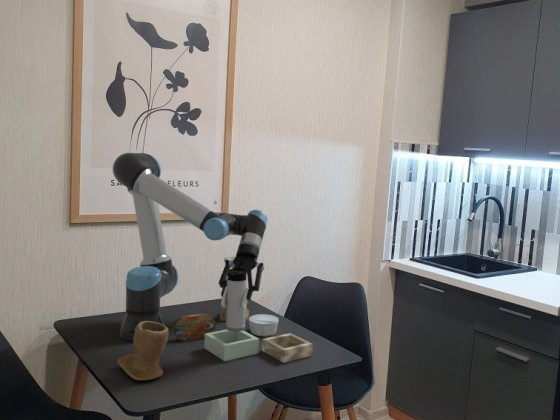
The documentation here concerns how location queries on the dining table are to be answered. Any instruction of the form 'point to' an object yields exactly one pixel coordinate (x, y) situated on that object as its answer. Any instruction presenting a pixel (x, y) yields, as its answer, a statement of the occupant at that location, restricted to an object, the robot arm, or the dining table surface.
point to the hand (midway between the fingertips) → (232, 306)
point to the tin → (193, 326)
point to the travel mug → (235, 299)
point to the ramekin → (263, 324)
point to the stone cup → (146, 351)
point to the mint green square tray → (231, 344)
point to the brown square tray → (295, 351)
